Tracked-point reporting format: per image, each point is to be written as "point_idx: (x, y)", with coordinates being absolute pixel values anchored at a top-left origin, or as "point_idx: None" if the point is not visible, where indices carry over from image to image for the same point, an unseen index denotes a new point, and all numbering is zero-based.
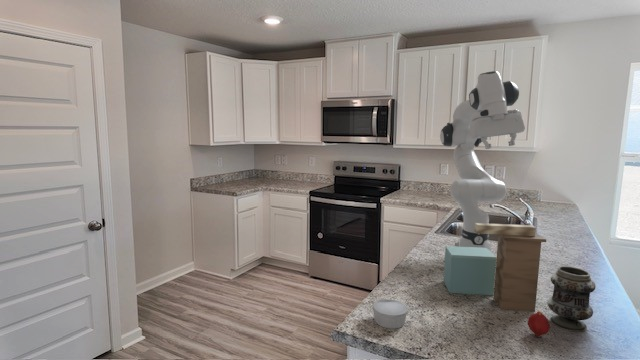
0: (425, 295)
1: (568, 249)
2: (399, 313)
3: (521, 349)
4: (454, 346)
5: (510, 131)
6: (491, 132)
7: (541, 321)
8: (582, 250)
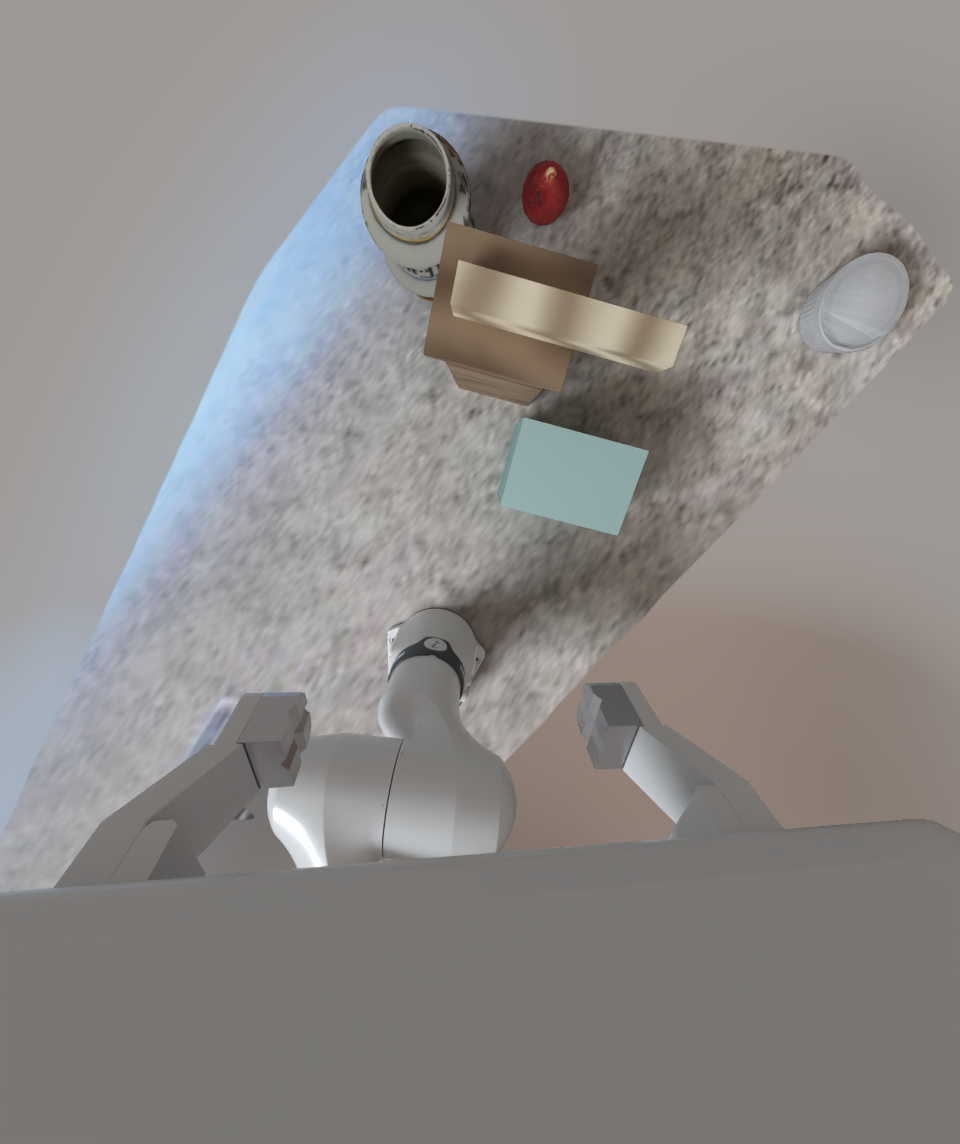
0: (677, 441)
1: (149, 679)
2: (863, 260)
3: (616, 154)
4: (752, 183)
5: (180, 922)
6: (705, 915)
7: (555, 163)
8: (116, 669)
